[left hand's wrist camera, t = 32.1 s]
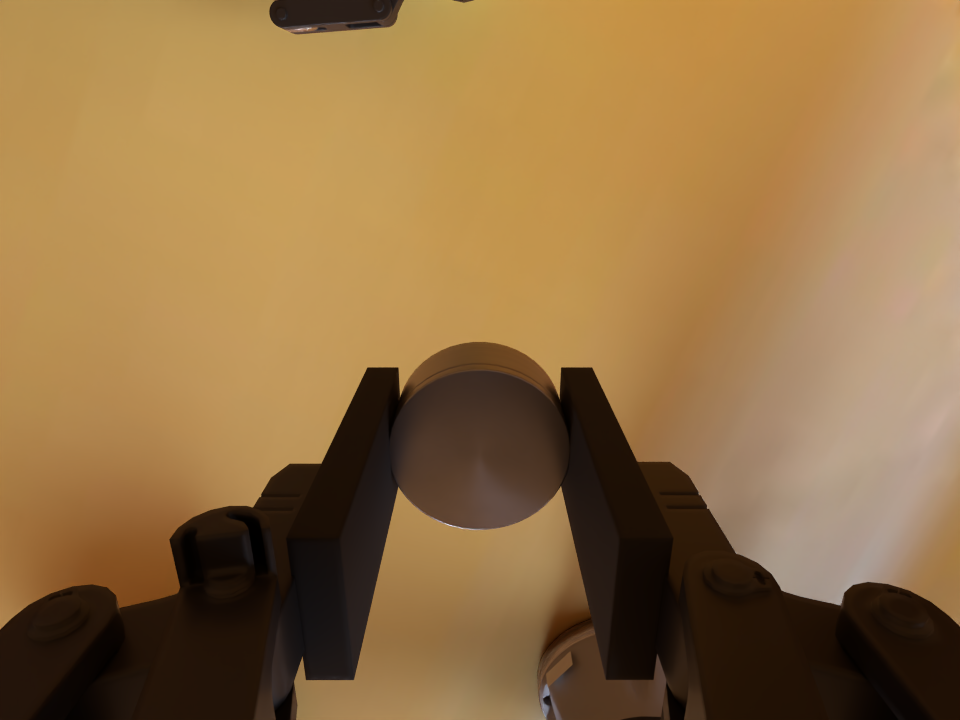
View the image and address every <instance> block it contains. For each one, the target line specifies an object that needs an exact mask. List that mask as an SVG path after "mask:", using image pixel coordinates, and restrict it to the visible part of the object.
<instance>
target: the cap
mask: <svg viewBox="0 0 960 720" xmlns="http://www.w3.org/2000/svg"><path fill="white" fill-rule="evenodd" d="M389 444H390V460H391V471H392V474H393V476H394V479H395V481H396V483H397V484H398V486H399V488H400V490H401V491H402V492H403V494H404V495H405V496H406V498H407V499H408V500H409V501H410V502H411V503H412V504H413V505H414V506H415V507H417V508H418V509H419V510H420V511H422V512H423V513H425V514H426V515H428V516H429V517H431V518H433V519H435V520H437V521H439V522H442V523H444V524H447V525H450V526H454V527H459V528H463V529H473V530H487V529H495V528H500V527H505V526H509V525H512V524H515V523H517V522H520V521H522V520H524V519H526V518H528V517H530V516H531V515H533V514H534V513H536V512H538V511H539V510H540V509H541V508H542V507H544V506H545V505H546V504H547V503H548V502H549V501H550V500H551V499H552V498H553V497H554V495H555V494H556V492H557V491H558V490H559V488H560V486H561V485H562V483H563V481H564V479H565V476H566V474H567V471H568V467H569V454H570V435H569V431H568V427H567V423H566V420H565V417H564V413H563V410H562V407H561V403H560V400H559V397H558V394H557V391H556V389H555V386H554V384H553V383H552V381H551V379H550V378H549V376H548V375H547V374H546V372H545V371H544V370H543V369H542V368H541V367H540V366H539V365H538V364H537V363H536V362H535V361H534V360H532V359H531V358H530V357H528V356H527V355H525V354H523V353H521V352H520V351H518V350H515V349H513V348H510V347H508V346H504V345H500V344H496V343H488V342H471V343H463V344H459V345H455V346H451V347H449V348H446V349H444V350H441V351H439V352H438V353H436V354H434V355H432V356H431V357H429V358H428V359H427V360H425V361H424V362H423V363H422V364H421V365H420V366H419V367H418V368H417V369H416V370H415V371H414V372H413V374H412V375H411V376H410V378H409V379H408V381H407V383H406V385H405V386H404V389H403V391H402V394H401V397H400V400H399V403H398V407H397V410H396V413H395V417H394V420H393V423H392V427H391V430H390V435H389Z"/></svg>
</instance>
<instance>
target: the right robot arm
mask: <svg viewBox="0 0 960 720" xmlns="http://www.w3.org/2000/svg"><path fill="white" fill-rule="evenodd" d="M403 1H404V0H275V1H274V2H273V3H272V5H271V6H270V11H269V12H270V18H271V20H272V21H273V23H274V24H275V25H276V26H278V27H280V28H282V29H285V30H287V31H289V32H291V33H294V34H308V33H320V32H333V31H346V30H358V29H371V28H383V27H390V26H392V25H393V24H394V23H395V22H396V20H397V14H398V12H399V9H400V7H401V5H402V3H403ZM454 1H459V2H469V1H473V0H454Z"/></svg>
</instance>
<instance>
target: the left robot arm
mask: <svg viewBox="0 0 960 720" xmlns="http://www.w3.org/2000/svg"><path fill="white" fill-rule="evenodd" d="M399 400H400V389H399V370H398V368H367V370H366V372H365V374H364V376H363V378H362V380H361V382H360V384H359V387H358V389H357V391H356V393H355V395H354V397H353V399H352V401H351V403H350V405H349V407H348V410H347V412H346V414H345V416H344V418H343V420H342V422H341V424H340V426H339V428H338V430H337V432H336V435H335V437H334V439H333V441H332V443H331V445H330V447H329V449H328V451H327V453H326V455H325V458H324V460H323V462H322V464H289V465H288V466H286V467H285V468H284V469H282V470H281V471H280V472H278V473H277V474H276V475H274V476H273V477H272V478H271V479H270V481H269V482H268V484H267V486H266V487H265V489H264V490H263V492H262V494H261V497H259V499H258V500H257V502H256V504H255V505H254V507H253V508H252V507H248V506H227V507H223V508H218V509H213V510H210V511H207V512H205V513H203V514H200V515H198V516H195V517H193V518H192V519H190V520H189V521H187V522H186V523H184V524H183V525H182V526H180V527H179V528H178V529H177V530H176V532H175V533H174V534H173V536H172V537H171V538H170V539H169V540H170V544H171V548H172V553H173V557H174V562H175V566H176V570H177V575H178V579H179V584H180V590H179V592H178V593H177V594H175V595H171V596H168V597H165V598H161V599H157V600H153V601H149V602H144V603H140V604H135V605H131V606H127V607H122V608H119V605H118V602H117V598H116V595H115V594H114V593H113V592H111V591H110V590H109V589H108V588H107V587H102V586H97V585H83V586H74V587H70V588H67V589H63V590H60V591H57V592H54V593H51V594H49V595H47V596H45V597H43V598H41V599H39V600H37V601H35V602H33V603H32V604H30V605H28V606H27V607H26V608H24V609H23V610H22V611H21V612H19V613H18V614H17V615H16V616H14V617H13V618H12V619H11V620H10V621H9V622H8V623H7V624H6V625H5V626H4V627H3V628H2V629H1V630H0V720H296V714H297V700H296V693H295V686H294V679H295V676H296V674H297V671H298V668H299V665H300V662H301V659H302V656H303V662H304V669H305V676H306V680H354V677H355V673H356V668H357V664H358V660H359V655H360V651H361V647H362V642H363V638H364V634H365V629H366V625H367V621H368V616H369V612H370V607H371V603H372V599H373V594H374V590H375V586H376V581H377V577H378V573H379V568H380V564H381V560H382V555H383V551H384V547H385V542H386V538H387V534H388V529H389V525H390V521H391V516H392V512H393V508H394V503H395V499H396V494H397V490H398V484H397V483H396V481H395V479H394V476H393V474H392V471H391V460H390V444H389V435H390V430H391V427H392V423H393V420H394V417H395V413H396V410H397V407H398V403H399ZM560 403H561V407H562V410H563V413H564V417H565V420H566V423H567V427H568V431H569V435H570V454H569V467H568V471H567V474H566V476H565V479H564V481H563V483H562V485H561V487H562V492H563V496H564V500H565V505H566V509H567V513H568V518H569V522H570V526H571V531H572V535H573V540H574V544H575V548H576V553H577V557H578V561H579V566H580V570H581V574H582V579H583V583H584V587H585V592H586V596H587V600H588V605H589V609H590V613H591V618H592V619H590V620H587V621H584V622H582V623H580V624H578V625H575V626H574V627H572V628H570V629H568V630H567V631H565V632H564V633H563V634H561V635H560V636H559V637H558V638H556V639H555V640H554V641H553V642H552V644H551V645H550V646H549V647H548V648H547V650H546V651H545V653H544V655H543V657H542V659H541V661H540V664H539V667H538V673H537V682H538V692H539V701H540V705H541V708H542V711H543V713H544V715H545V717H546V719H547V720H960V626H959V625H958V624H957V623H956V622H954V621H953V620H952V619H951V618H950V617H949V616H948V615H947V614H946V613H944V612H943V611H942V610H941V609H939V608H938V607H937V606H935V605H934V604H933V603H932V602H930V601H928V600H926V599H924V598H922V597H920V596H918V595H916V594H914V593H913V592H911V591H908V590H905V589H902V588H898V587H895V586H892V585H889V584H882V583H872V582H866V583H861V584H856V585H853V586H851V587H850V588H849V589H848V590H847V591H846V592H845V593H844V596H843V600H842V604H841V606H840V605H835V604H831V603H826V602H822V601H818V600H813V599H809V598H804V597H800V596H797V595H793V594H790V593H786V592H784V591H781V589H780V586H779V585H778V583H777V582H776V580H775V579H774V577H773V576H772V574H771V573H769V572H768V571H767V570H766V569H764V568H763V567H762V566H761V565H759V564H758V563H756V562H754V561H752V560H750V559H748V558H746V557H744V556H742V555H739V554H736V553H735V551H734V550H733V548H732V546H731V545H730V543H729V541H728V540H727V538H726V536H725V535H724V533H723V531H722V530H721V528H720V527H719V525H718V523H717V522H716V520H715V518H714V517H713V515H712V513H711V512H710V510H709V509H707V505H706V504H705V502H704V500H703V499H702V497H701V495H699V494H698V493H699V492H698V490H697V489H696V487H695V485H694V484H693V482H692V481H691V479H690V477H689V476H688V475H687V474H685V473H684V472H683V471H681V470H680V469H679V468H677V467H676V466H675V465H673V464H672V463H671V462H637V461H636V458H635V456H634V454H633V452H632V450H631V448H630V446H629V444H628V442H627V440H626V438H625V435H624V433H623V431H622V429H621V427H620V425H619V423H618V421H617V419H616V417H615V415H614V412H613V410H612V408H611V406H610V404H609V402H608V400H607V398H606V396H605V394H604V392H603V389H602V387H601V385H600V383H599V381H598V379H597V377H596V375H595V373H594V371H593V369H592V368H561V382H560Z"/></svg>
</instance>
